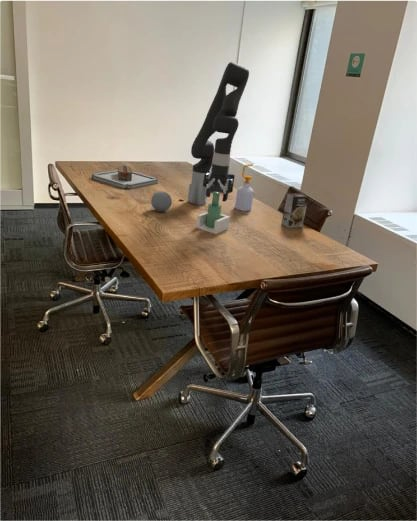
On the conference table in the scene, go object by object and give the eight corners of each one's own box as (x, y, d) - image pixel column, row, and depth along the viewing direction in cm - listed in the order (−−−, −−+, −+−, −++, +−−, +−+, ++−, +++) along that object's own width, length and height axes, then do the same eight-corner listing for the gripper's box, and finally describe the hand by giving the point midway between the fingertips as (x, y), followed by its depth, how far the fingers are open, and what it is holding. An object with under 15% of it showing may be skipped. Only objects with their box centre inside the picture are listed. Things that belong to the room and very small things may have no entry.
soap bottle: (250, 212, 239) (257, 166, 230) (233, 209, 241) (240, 163, 231) (251, 207, 247) (259, 163, 238) (235, 205, 249) (242, 161, 239)
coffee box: (288, 228, 221) (294, 196, 215) (280, 224, 227) (286, 193, 220) (302, 227, 226) (309, 196, 219) (295, 223, 231) (301, 192, 224)
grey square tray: (160, 184, 274) (161, 172, 271) (126, 191, 250) (127, 178, 247) (123, 173, 288) (124, 161, 285) (88, 179, 264) (89, 166, 261)
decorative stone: (159, 206, 229) (161, 187, 225) (174, 212, 224) (176, 192, 220) (146, 210, 221) (147, 190, 217) (161, 215, 216) (163, 195, 212)
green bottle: (203, 225, 206) (207, 192, 200) (210, 223, 211) (214, 190, 205) (214, 229, 204) (218, 195, 197) (221, 226, 208) (225, 193, 202)
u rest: (195, 227, 206) (197, 215, 203) (208, 222, 214) (210, 210, 212) (216, 234, 201) (217, 221, 198) (228, 228, 209) (230, 216, 207)
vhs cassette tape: (231, 189, 280) (233, 174, 276) (232, 191, 278) (235, 175, 274) (203, 188, 274) (205, 172, 270) (205, 190, 272) (207, 174, 268)
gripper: (238, 165, 195) (233, 201, 202) (211, 159, 202) (207, 194, 208) (230, 167, 189) (225, 204, 196) (202, 160, 196) (198, 196, 202)
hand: (216, 198), depth 202 cm, fingers open, 8 cm apart
